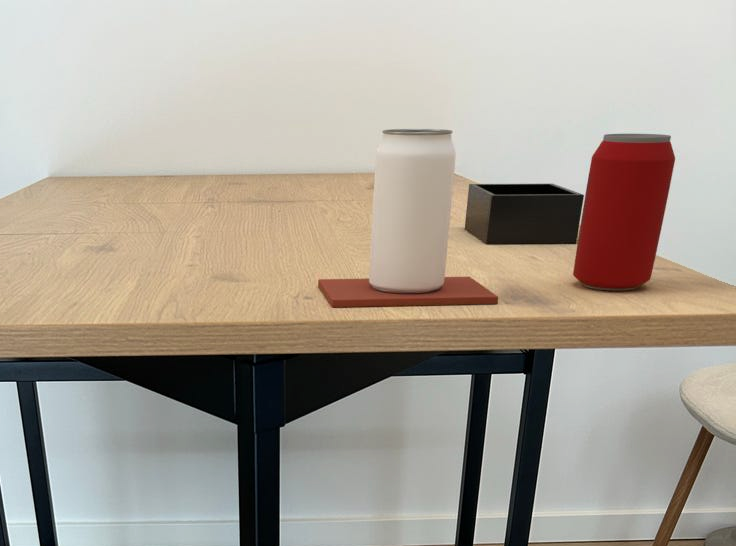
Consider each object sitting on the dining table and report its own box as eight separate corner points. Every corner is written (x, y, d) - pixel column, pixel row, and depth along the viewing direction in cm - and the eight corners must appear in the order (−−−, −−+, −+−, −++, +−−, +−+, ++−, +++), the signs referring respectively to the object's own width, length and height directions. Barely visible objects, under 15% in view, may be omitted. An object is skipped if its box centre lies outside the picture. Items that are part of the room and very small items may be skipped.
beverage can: (623, 277, 88) (650, 132, 82) (664, 290, 82) (697, 136, 76) (557, 280, 87) (580, 133, 81) (595, 294, 81) (622, 138, 75)
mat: (468, 283, 86) (469, 276, 86) (497, 304, 78) (498, 296, 78) (317, 286, 85) (318, 279, 85) (332, 307, 77) (332, 299, 77)
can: (453, 293, 79) (469, 132, 73) (379, 295, 78) (389, 133, 72) (429, 279, 84) (443, 128, 78) (360, 281, 84) (368, 129, 77)
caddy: (576, 243, 105) (584, 194, 103) (486, 244, 105) (491, 195, 103) (546, 228, 116) (553, 183, 113) (464, 228, 116) (469, 184, 113)
